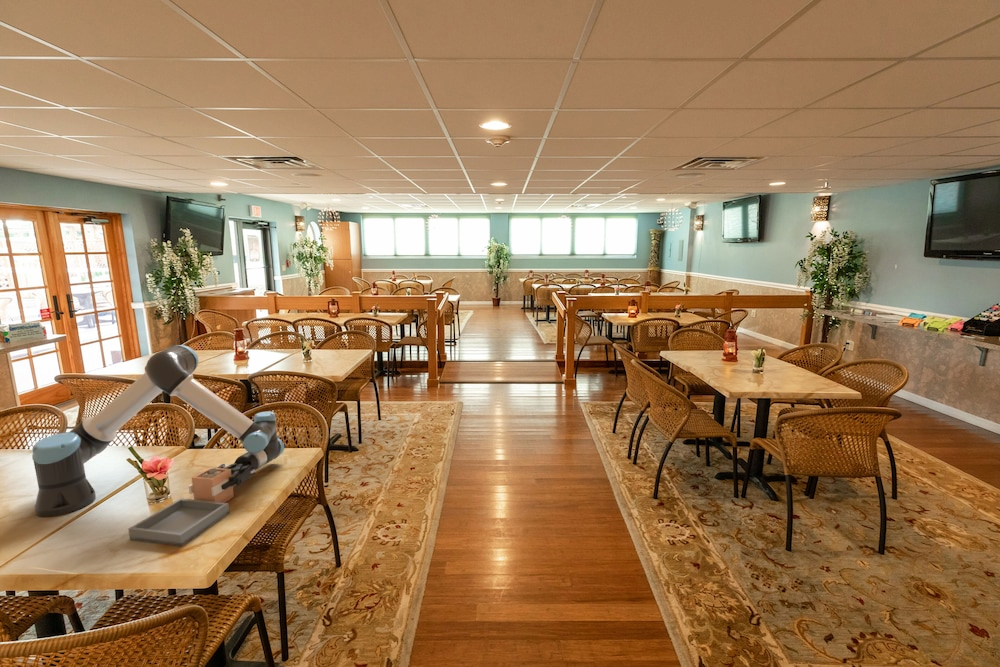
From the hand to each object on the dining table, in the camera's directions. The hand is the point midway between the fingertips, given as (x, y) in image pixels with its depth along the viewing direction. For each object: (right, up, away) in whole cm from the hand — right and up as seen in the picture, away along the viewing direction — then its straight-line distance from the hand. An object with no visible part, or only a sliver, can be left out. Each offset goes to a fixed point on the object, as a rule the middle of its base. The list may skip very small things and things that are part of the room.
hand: (201, 491), depth 155 cm
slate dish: (0, -8, -9) cm, 12 cm away
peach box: (+1, -5, +6) cm, 8 cm away
